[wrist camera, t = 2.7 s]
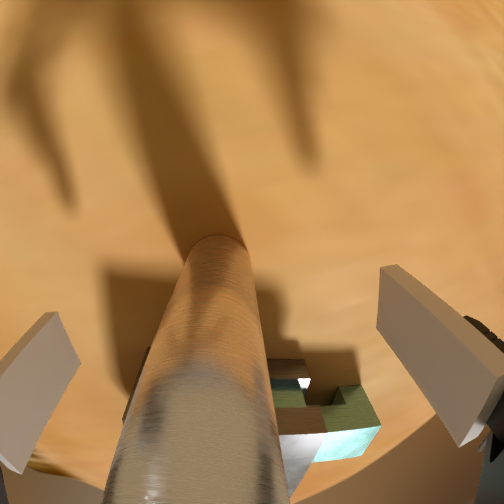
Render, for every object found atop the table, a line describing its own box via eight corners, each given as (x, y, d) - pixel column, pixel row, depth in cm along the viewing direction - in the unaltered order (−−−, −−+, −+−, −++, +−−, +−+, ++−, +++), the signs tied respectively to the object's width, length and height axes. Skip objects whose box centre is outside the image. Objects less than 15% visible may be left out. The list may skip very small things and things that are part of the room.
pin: (188, 231, 16) (43, 587, 1) (254, 238, 16) (344, 617, 1) (185, 291, 17) (114, 600, 2) (246, 297, 17) (282, 614, 2)
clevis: (148, 346, 18) (121, 419, 12) (372, 358, 19) (410, 419, 13) (158, 429, 21) (146, 490, 15) (336, 434, 22) (354, 489, 16)
